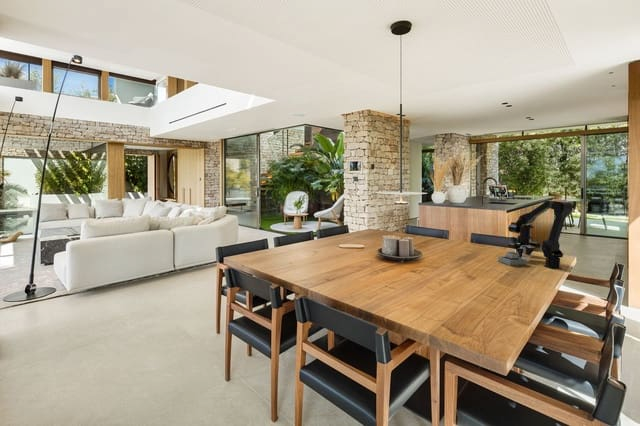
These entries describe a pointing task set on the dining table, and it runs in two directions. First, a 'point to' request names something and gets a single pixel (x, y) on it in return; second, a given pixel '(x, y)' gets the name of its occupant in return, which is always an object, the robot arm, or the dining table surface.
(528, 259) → the pinkish brown block
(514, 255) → the metal box
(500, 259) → the tote
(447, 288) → the dining table surface
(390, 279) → the dining table surface
